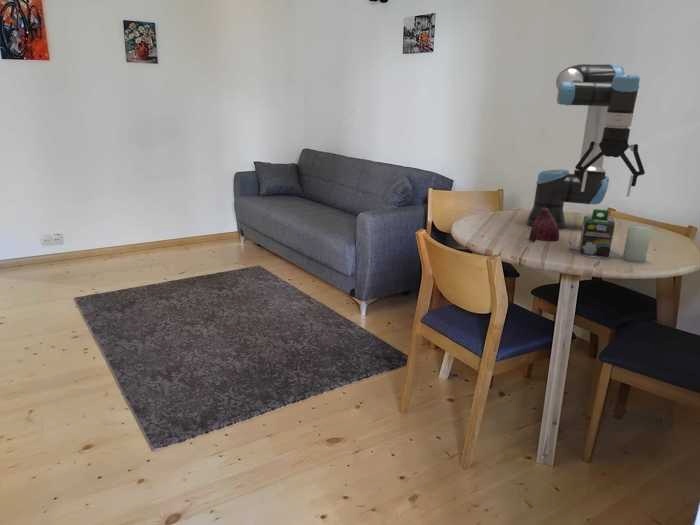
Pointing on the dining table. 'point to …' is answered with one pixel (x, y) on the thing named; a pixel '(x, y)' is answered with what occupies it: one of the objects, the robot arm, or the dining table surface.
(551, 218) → the vegetable
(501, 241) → the dining table surface
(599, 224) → the chalk box
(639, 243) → the grey-green rectangular block
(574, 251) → the dish
